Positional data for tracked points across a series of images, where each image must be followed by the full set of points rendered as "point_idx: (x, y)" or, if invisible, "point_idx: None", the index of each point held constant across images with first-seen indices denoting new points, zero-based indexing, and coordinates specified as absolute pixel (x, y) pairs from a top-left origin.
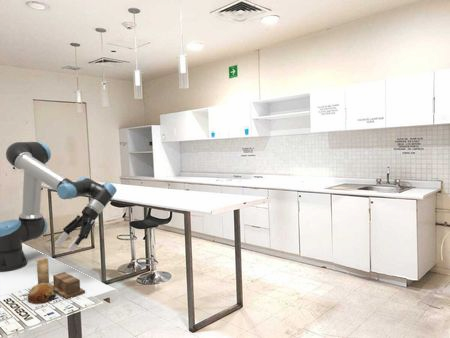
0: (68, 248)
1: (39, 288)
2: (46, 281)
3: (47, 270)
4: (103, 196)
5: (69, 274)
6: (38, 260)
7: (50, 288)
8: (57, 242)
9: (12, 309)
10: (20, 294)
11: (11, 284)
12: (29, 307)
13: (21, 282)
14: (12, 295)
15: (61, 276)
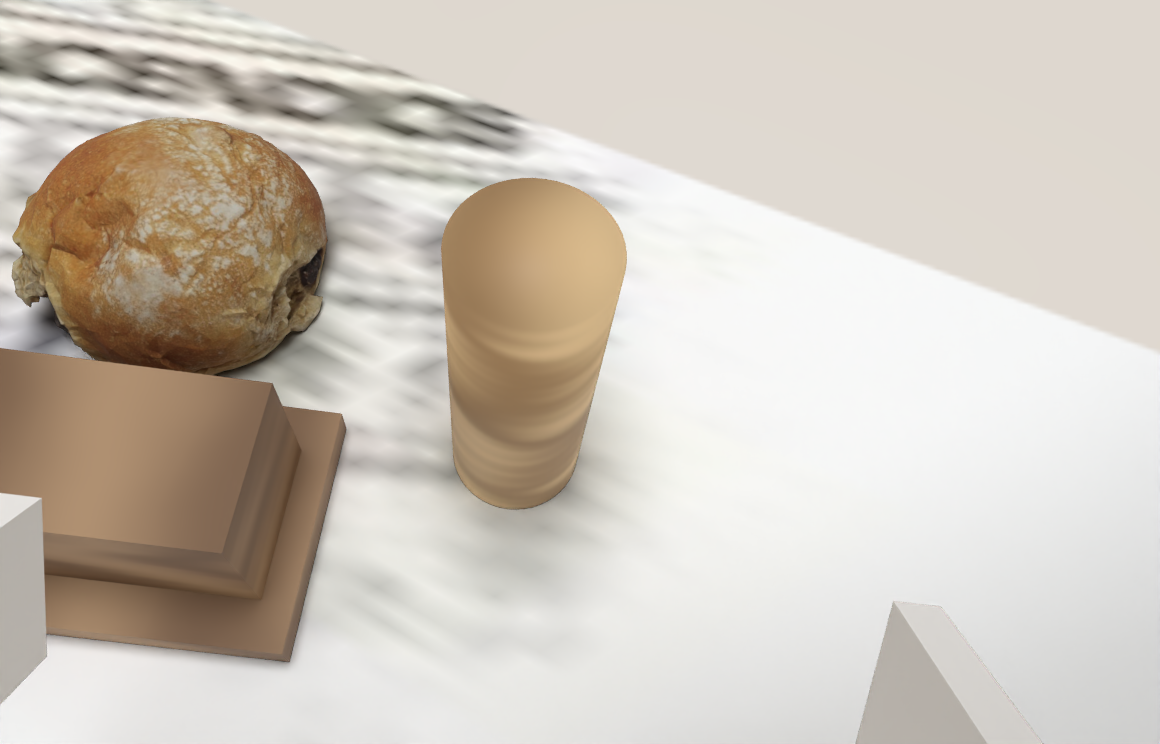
0: (6, 496)
1: (106, 138)
2: (451, 425)
3: (455, 382)
4: None
5: None
6: (537, 196)
7: (53, 248)
8: (906, 659)
9: (247, 61)
10: None
11: (865, 296)
12: None
13: (844, 372)
14: None
15: (99, 417)
